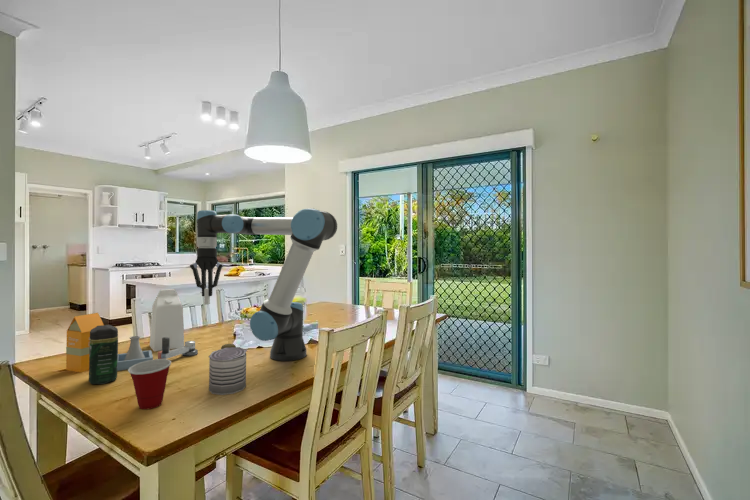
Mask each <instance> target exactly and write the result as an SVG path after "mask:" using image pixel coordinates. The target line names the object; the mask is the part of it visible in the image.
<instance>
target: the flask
mask: <svg viewBox="0 0 750 500" xmlns="http://www.w3.org/2000/svg"><path fill="white" fill-rule="evenodd" d="M140 338H141V336H140V335H133V336H130V337H129V340H130V342H129V343H130V344H129V347H128V350H127V352H126V353H127V355H126V357H125V359H124V361H126V360H134V359H141V358H145V356H144V354H143V352H142V351H143V350H142V348H141V345H140Z"/></svg>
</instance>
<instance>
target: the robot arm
mask: <svg viewBox="0 0 750 500" xmlns="http://www.w3.org/2000/svg"><path fill="white" fill-rule="evenodd" d="M195 222H196V246H197V247H198V248H196V260H195V262H193V263H192V264H190V265H189V267H190V268H191V271H192V273H193V277H194V280H195V284H196V287H197V288H200V289H201V296H202V297H204V298H203V299H204V301H203V302H204V306H206V305H208V306H209V305H210V304H211V297H212V296H213V288H215V287H218V283H219V281H220V280H219V279H220V275H221V271H222V269H223V268H224V263H221V262H219V259H218V256H217V255H218V251H217V250H218V249H217V248H216V247H217V246H218V244H217V242H218V241H217V240H218V237H217V236H218V234H234V235H237V234H241V235H248V236H249V235H250V236H251V235H263V236H264V235H269V236H271V235H273V236H274V235H275V236H290V237H289V238H290V241H291V245H290V248H289V251H288V252H287V255H286V257H285V260H284V263H283V265H282V267H281V270H280V272H279V273H278V274H279V275H278V277H277V280H276V281H275V284H274V287H273V288H272V291H271V294H270V297H268V298H267V299H264V300H263V302H262V304H261V306H260V309H259V311H255V313H253V314H252V316H251V318H250V321H249V327H250V330H251V333H252V334H253V336H254V337H255V338H256V339H258V340H260V341H262V342H263V341H264V342H268V341H272V340H273V342H272V345H271V348H270V351H269V357H270V358H271V360H275V361H281V362H282V361H283V362H284V361H288V362H289V361H297V360H301V359H304V358H305V357H307V351H308V350H307V346H306V344H305V341H304V337H303V335H304V333H303V332H304V331H303V329H304V306H303V303H301V302H297V301H294V298H295V296H296V293H297V291H298V289H299V286H300V284H301V282H302V280H303V277H304V275H305V273H306V270H307V268H308V265H309V264H310V261H311V259H312V257H313V255H314V254H313V253H314V252H316V251H318V250H320V248H321V246H322V243H323V241H327V240H331V239H332V238H333V237H334V236H335V235H336V234H337V230H338V222H337V219H336V218H335V216H334V215H333V214H332V213H330V212H328V211H324V210H320V209H317V208H316V209H315V208H311V207H310V208H302V209H300V210H298V211H296V213H295V214H294V215H293V217H285V216H283V217H281V216H280V217H279V216H278V217H276V216H275V217H274V216H273V217H272V216H271V217H270V216H269V217H267V216H266V217H265V216H264V217H258V216H257V217H256V216H253V217H251V216H250V217H249V216H240V215H239V214H232V213H231V214H217V211H215V210H209V209H208V210H207V209H204V210H203V209H201V210H198V211H197V213H196V221H195ZM215 267H216V271H215V274H214V275H213V273H214V269H215ZM198 268H199V269H200V272H201V278H200V274H199V270H198ZM213 276H214V277H213Z"/></svg>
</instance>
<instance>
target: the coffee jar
mask: <svg viewBox="0 0 750 500" xmlns="http://www.w3.org/2000/svg"><path fill="white" fill-rule="evenodd" d="M118 331H119V330H118V328H117V327H116V326H114V325H111V324H104V325H101V326H97V327H95V328H93V329H92V330H91V331H90V349H89V370H88V382H89V384H90V385H104V384H108V383H110V382H114V381H116V380H117V378H118V371H117V362H118V354H119V332H118Z"/></svg>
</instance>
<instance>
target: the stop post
mask: <svg viewBox="0 0 750 500" xmlns="http://www.w3.org/2000/svg"><path fill="white" fill-rule="evenodd" d="M161 353H162V350H160V351H157V359H162V358H161Z"/></svg>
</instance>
